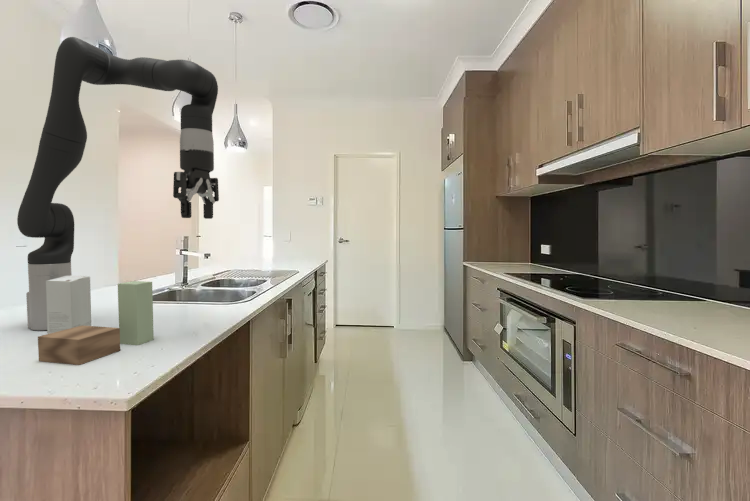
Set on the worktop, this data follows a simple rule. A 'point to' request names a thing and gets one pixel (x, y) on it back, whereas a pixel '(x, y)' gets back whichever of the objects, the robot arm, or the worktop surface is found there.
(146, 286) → the sage block
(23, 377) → the worktop surface
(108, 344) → the walnut riser block
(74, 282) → the skincare box
